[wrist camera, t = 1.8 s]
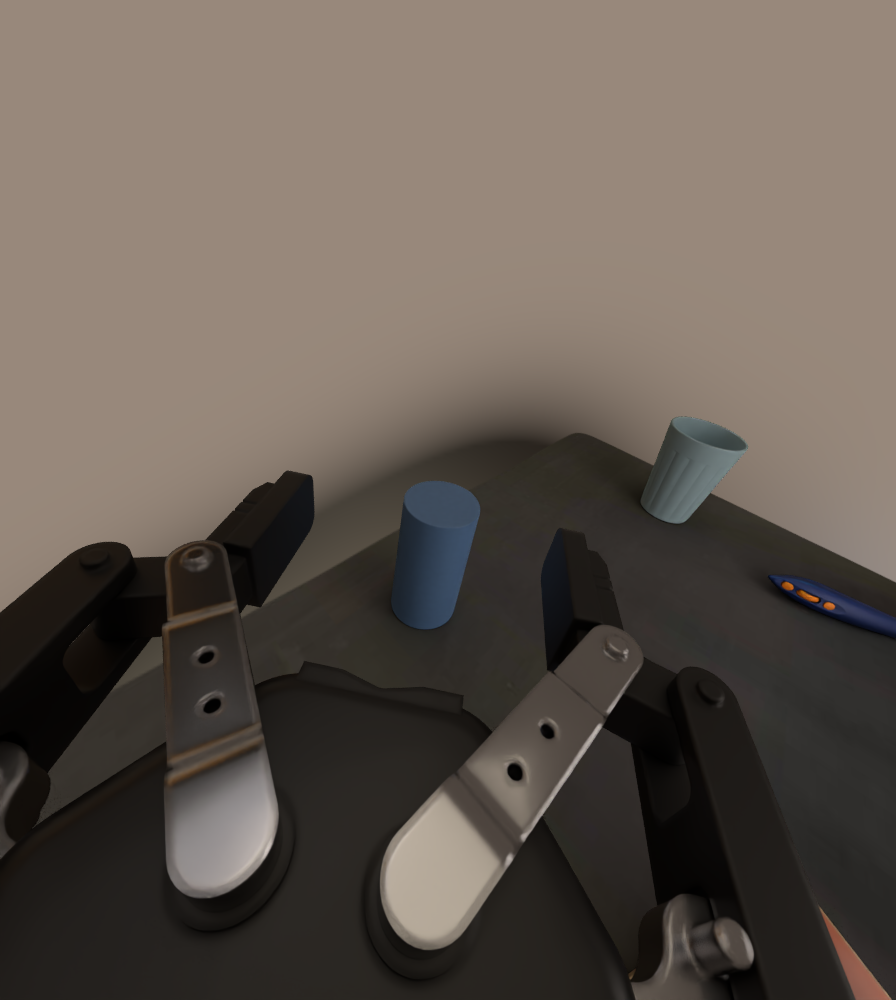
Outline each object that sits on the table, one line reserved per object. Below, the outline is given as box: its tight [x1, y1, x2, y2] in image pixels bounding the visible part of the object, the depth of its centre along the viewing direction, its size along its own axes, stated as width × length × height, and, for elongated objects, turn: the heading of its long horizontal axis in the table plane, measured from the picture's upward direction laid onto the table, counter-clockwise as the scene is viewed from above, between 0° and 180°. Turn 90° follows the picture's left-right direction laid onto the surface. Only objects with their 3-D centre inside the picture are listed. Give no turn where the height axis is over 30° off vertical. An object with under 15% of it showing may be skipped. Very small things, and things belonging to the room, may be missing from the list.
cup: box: [641, 417, 748, 524], centre depth 47 cm, size 8×8×10 cm
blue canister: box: [391, 481, 480, 629], centre depth 30 cm, size 5×5×10 cm
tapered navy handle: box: [768, 575, 896, 638], centre depth 39 cm, size 16×4×2 cm, turn 69°
